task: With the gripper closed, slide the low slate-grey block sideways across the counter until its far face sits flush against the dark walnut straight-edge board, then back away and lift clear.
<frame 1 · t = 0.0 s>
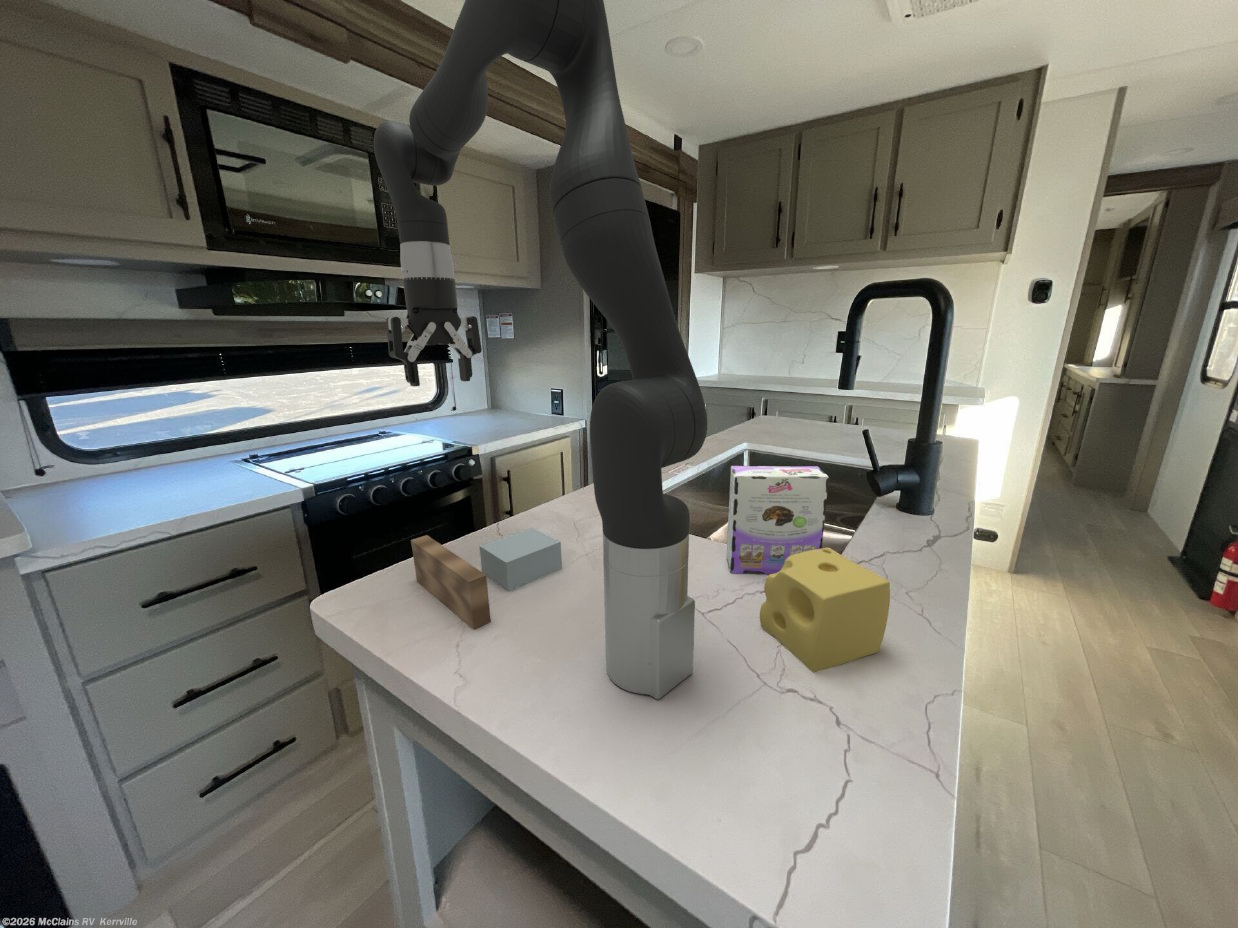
hand: (441, 383, 80), 29 cm above the counter, tool pointing down, fingers open, 8 cm apart
cheese: (819, 641, 62), on the counter
grey block: (522, 571, 80), on the counter
candy box: (770, 567, 80), on the counter
walnut board: (451, 599, 72), on the counter
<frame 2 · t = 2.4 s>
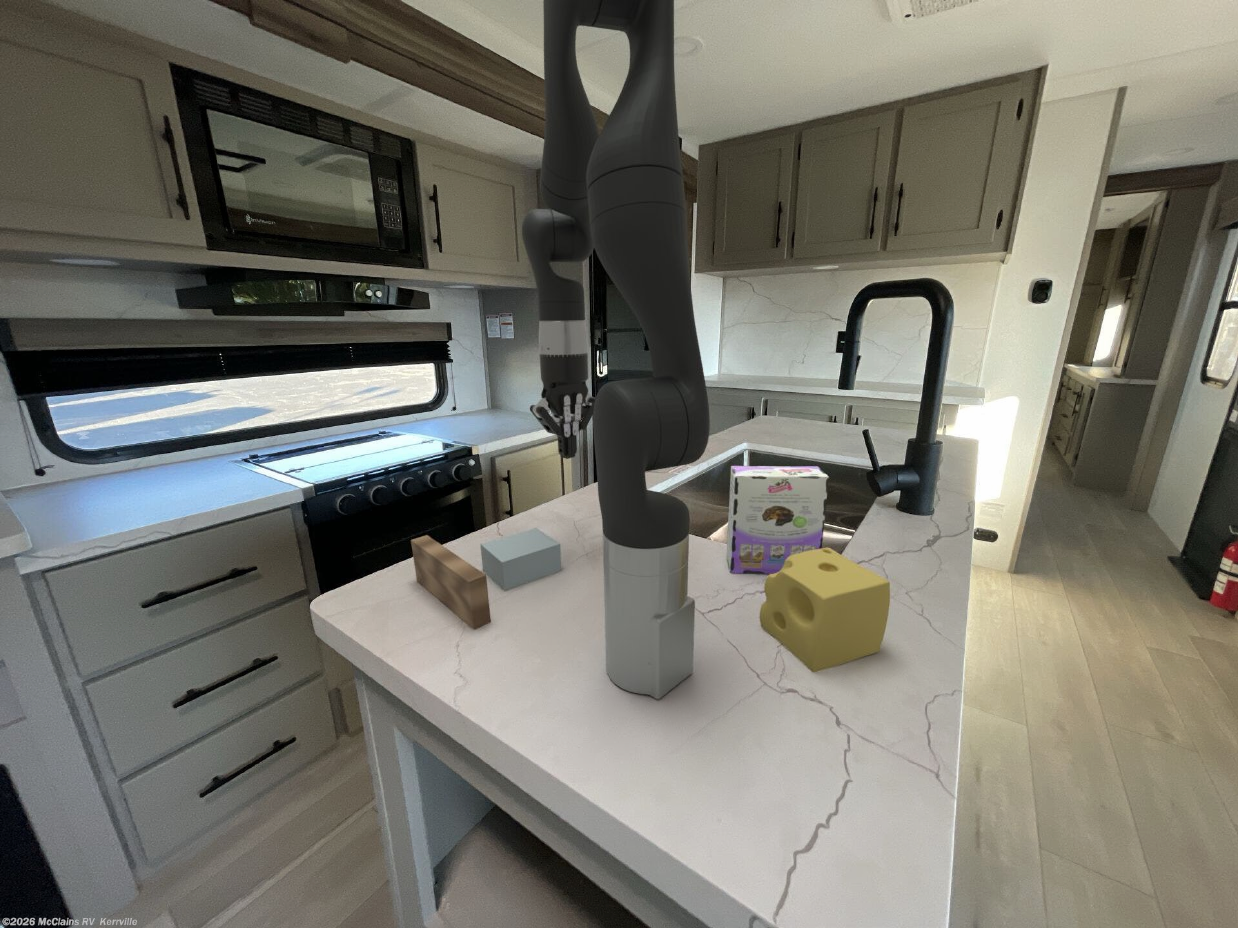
hand: (568, 457, 83), 17 cm above the counter, tool pointing down, fingers closed
nothing on the counter moved.
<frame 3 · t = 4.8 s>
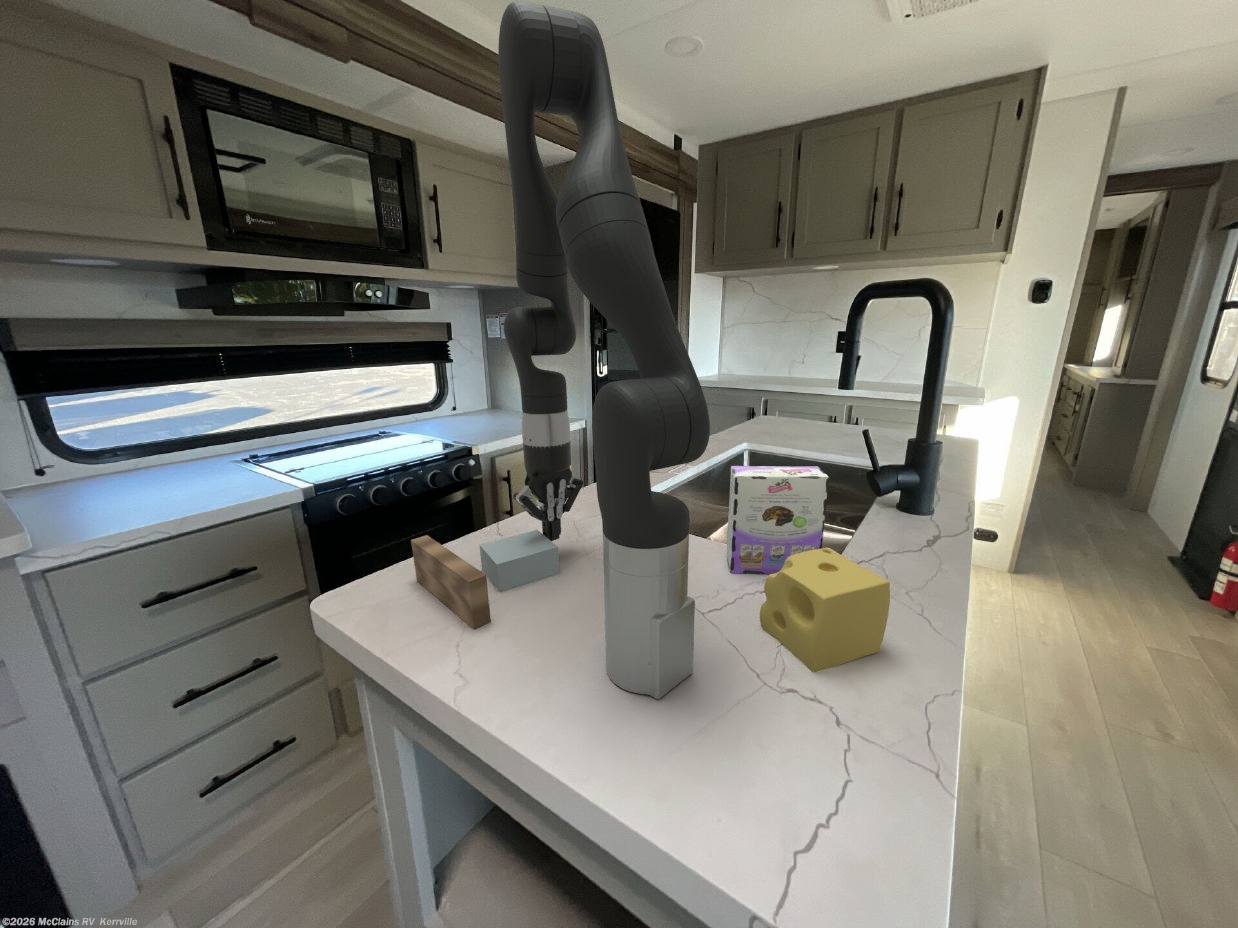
hand: (552, 538, 84), 4 cm above the counter, tool pointing down, fingers closed
nothing on the counter moved.
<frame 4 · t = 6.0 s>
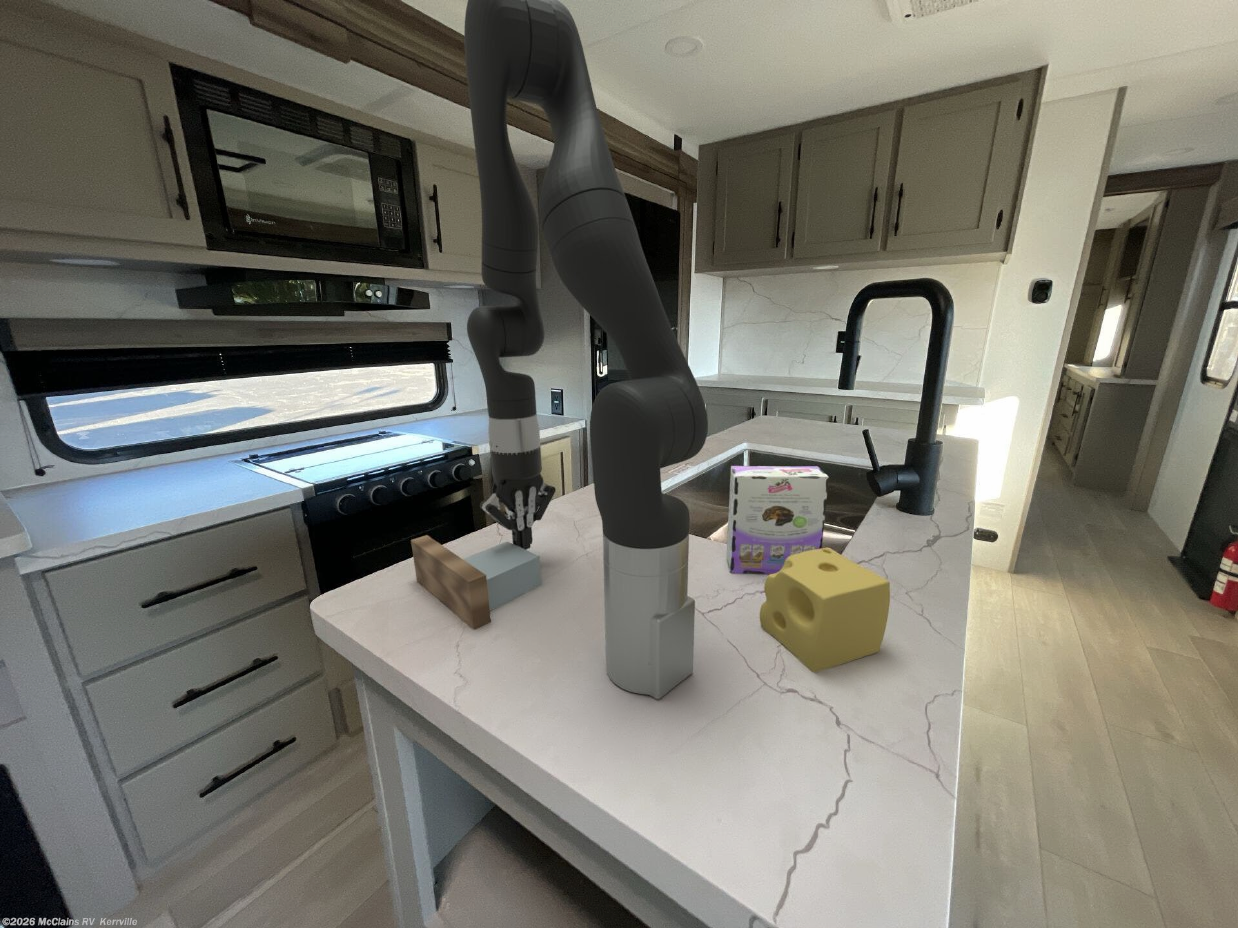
hand: (523, 548, 80), 4 cm above the counter, tool pointing down, fingers closed
grey block: (498, 589, 75), on the counter, touching gripper, walnut board
everything else where it was.
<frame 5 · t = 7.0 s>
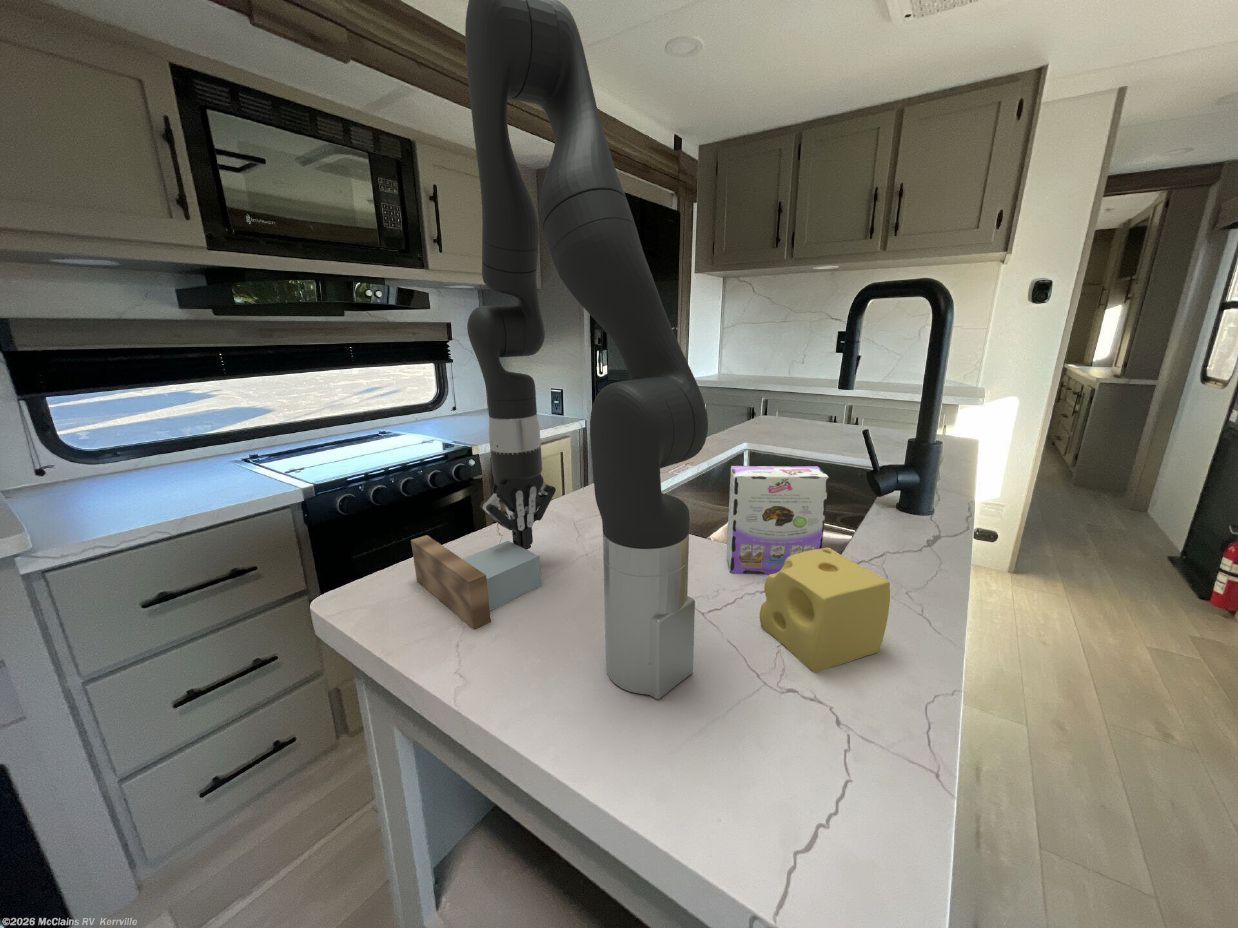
hand: (523, 548, 80), 4 cm above the counter, tool pointing down, fingers closed
nothing on the counter moved.
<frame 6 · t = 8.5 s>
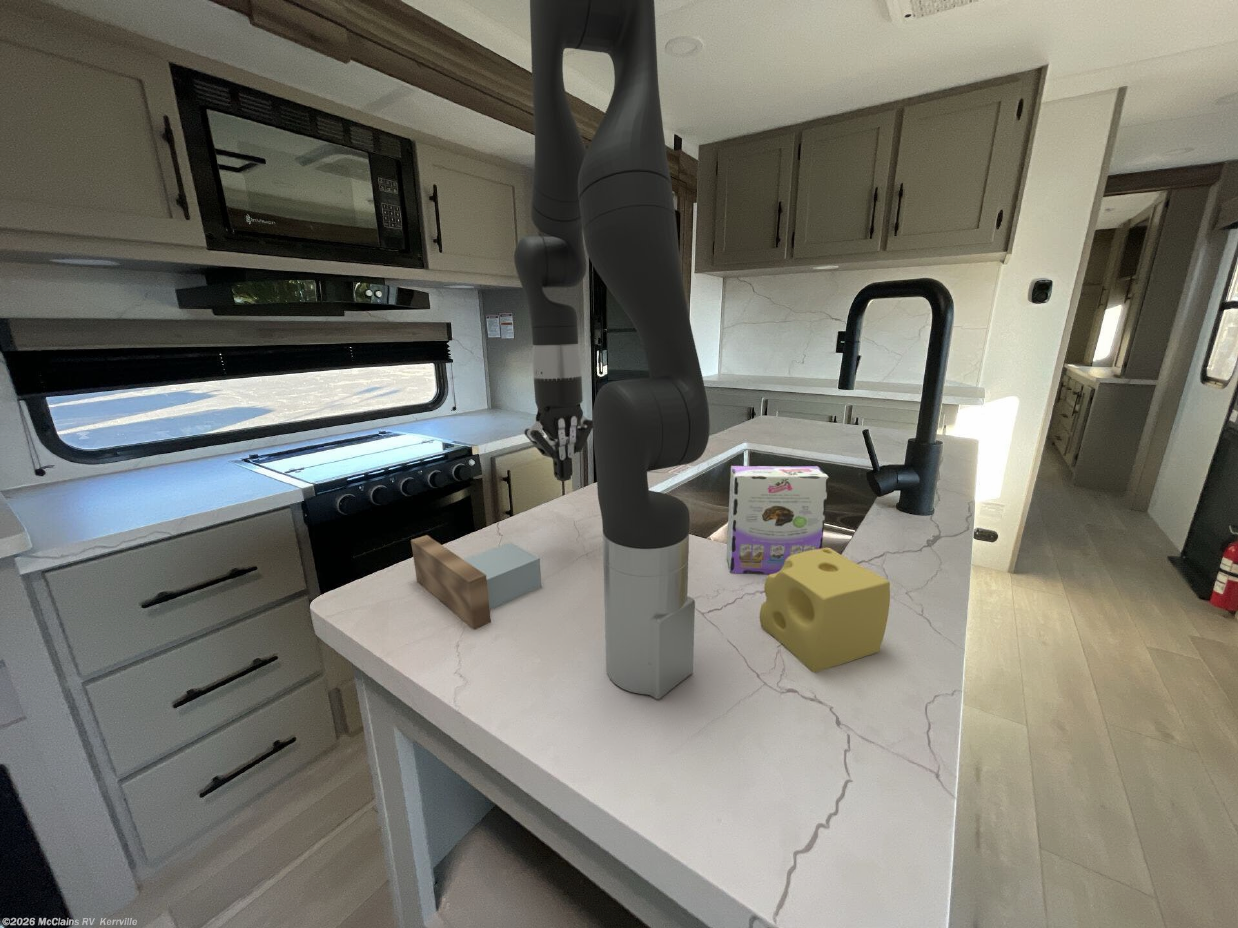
hand: (563, 479, 82), 13 cm above the counter, tool pointing down, fingers closed
grey block: (498, 590, 75), on the counter
everything else where it was.
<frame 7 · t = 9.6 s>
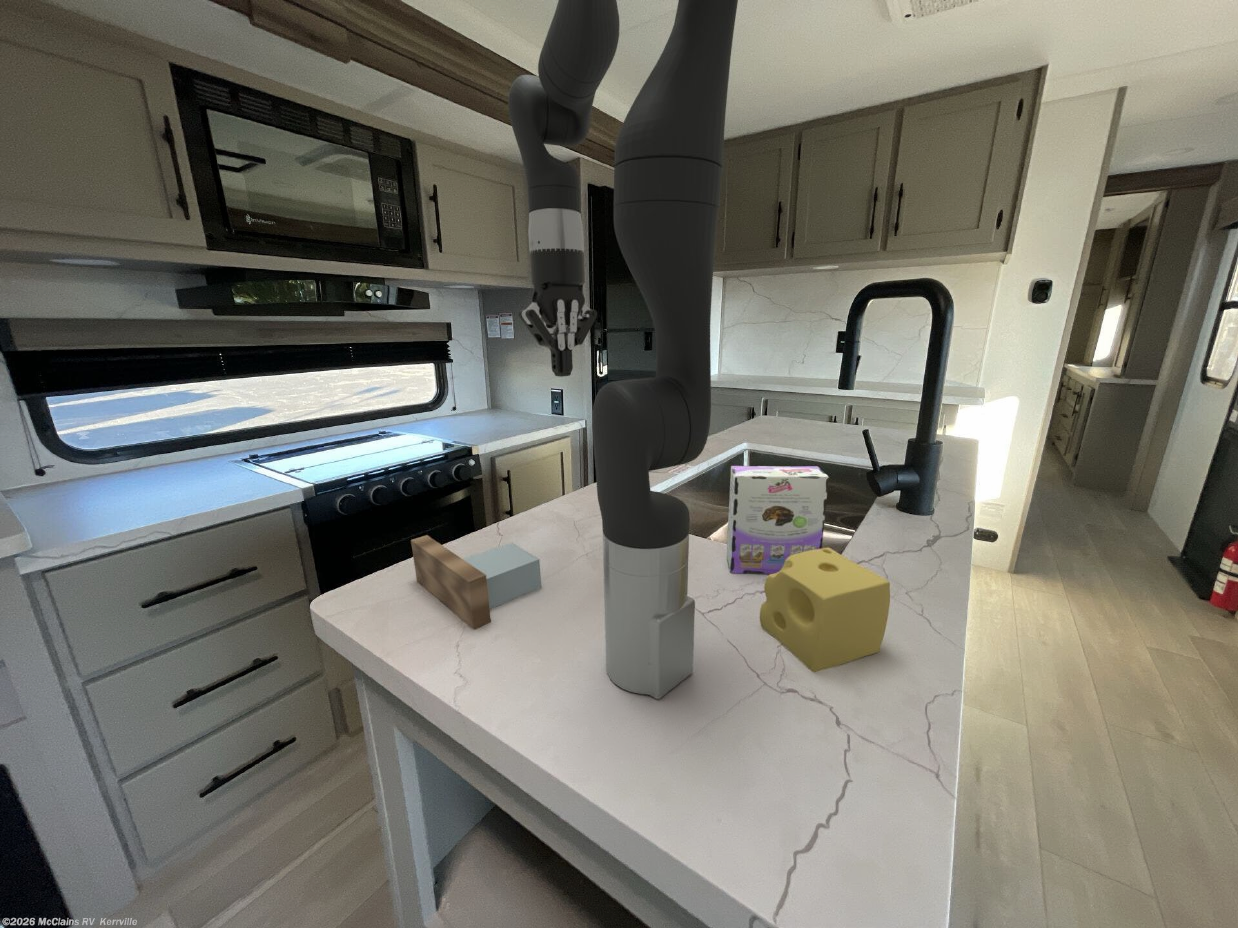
hand: (562, 375, 74), 31 cm above the counter, tool pointing down, fingers closed
nothing on the counter moved.
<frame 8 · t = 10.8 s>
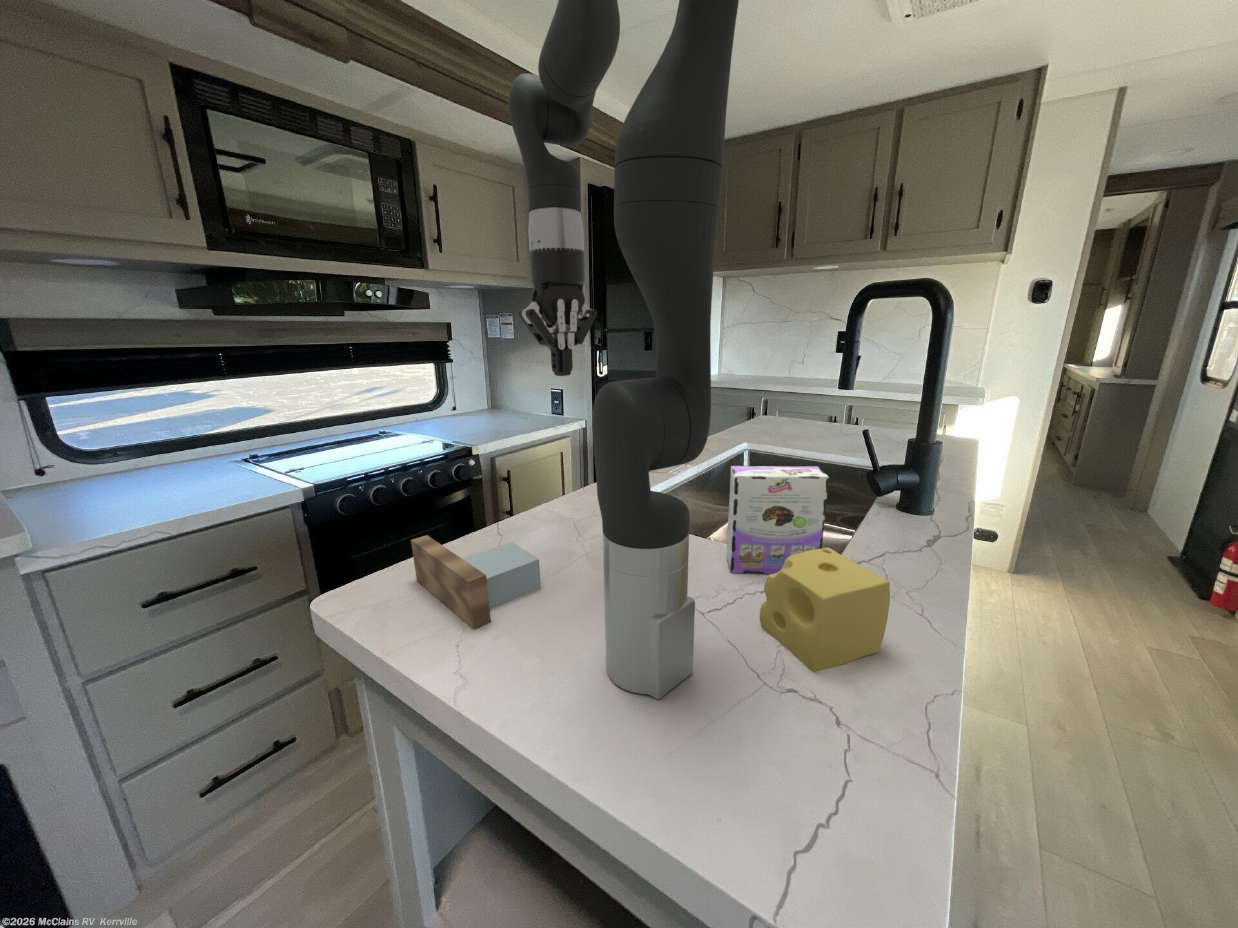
hand: (562, 375, 74), 31 cm above the counter, tool pointing down, fingers closed
nothing on the counter moved.
at the end: grey block 2.2 cm from the target spot on the counter beside the walnut board, on the counter; grey block tilted 0° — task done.
